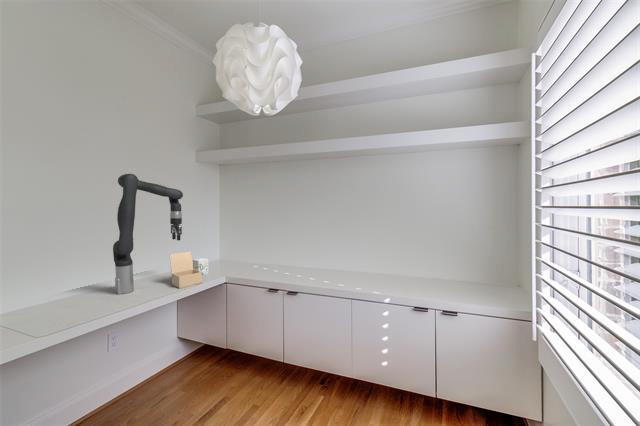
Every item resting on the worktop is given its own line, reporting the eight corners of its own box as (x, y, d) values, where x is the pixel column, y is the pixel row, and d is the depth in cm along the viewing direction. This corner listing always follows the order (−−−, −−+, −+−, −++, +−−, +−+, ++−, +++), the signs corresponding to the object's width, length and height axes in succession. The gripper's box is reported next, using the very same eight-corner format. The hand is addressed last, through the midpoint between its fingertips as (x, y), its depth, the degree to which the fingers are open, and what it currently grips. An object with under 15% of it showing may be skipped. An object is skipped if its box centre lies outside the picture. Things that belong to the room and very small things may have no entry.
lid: (169, 254, 201) (169, 254, 201) (171, 273, 200) (171, 273, 201) (191, 251, 212) (190, 251, 212) (193, 269, 211) (192, 269, 211)
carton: (179, 288, 192) (179, 276, 191) (172, 284, 200) (171, 273, 200) (202, 283, 202) (201, 272, 202) (193, 280, 211) (193, 269, 211)
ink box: (198, 275, 223) (198, 260, 222) (192, 274, 228) (192, 259, 228) (208, 273, 230) (208, 258, 229) (202, 271, 235) (202, 257, 234)
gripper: (166, 217, 214) (167, 239, 215) (174, 218, 204) (174, 241, 205) (177, 217, 219) (177, 238, 220) (185, 217, 210) (185, 240, 210)
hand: (176, 239), depth 212 cm, fingers open, 8 cm apart
